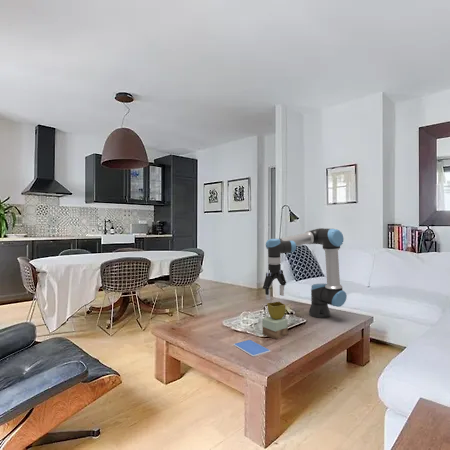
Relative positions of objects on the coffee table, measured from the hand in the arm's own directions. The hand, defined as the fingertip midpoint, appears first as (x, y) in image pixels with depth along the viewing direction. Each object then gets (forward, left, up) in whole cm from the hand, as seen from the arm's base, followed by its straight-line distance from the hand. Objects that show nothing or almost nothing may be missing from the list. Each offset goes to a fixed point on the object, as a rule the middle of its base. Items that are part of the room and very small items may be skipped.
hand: (275, 297), depth 202 cm
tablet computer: (+26, +4, -24) cm, 36 cm away
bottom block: (0, 0, -23) cm, 23 cm away
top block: (0, 0, -18) cm, 18 cm away
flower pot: (-2, 0, -14) cm, 14 cm away
